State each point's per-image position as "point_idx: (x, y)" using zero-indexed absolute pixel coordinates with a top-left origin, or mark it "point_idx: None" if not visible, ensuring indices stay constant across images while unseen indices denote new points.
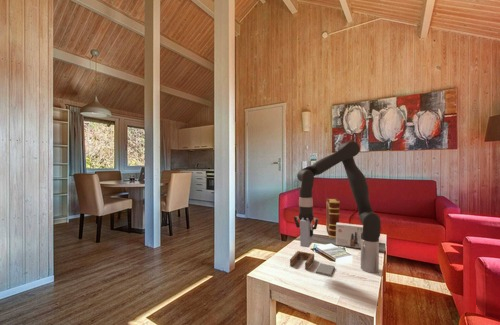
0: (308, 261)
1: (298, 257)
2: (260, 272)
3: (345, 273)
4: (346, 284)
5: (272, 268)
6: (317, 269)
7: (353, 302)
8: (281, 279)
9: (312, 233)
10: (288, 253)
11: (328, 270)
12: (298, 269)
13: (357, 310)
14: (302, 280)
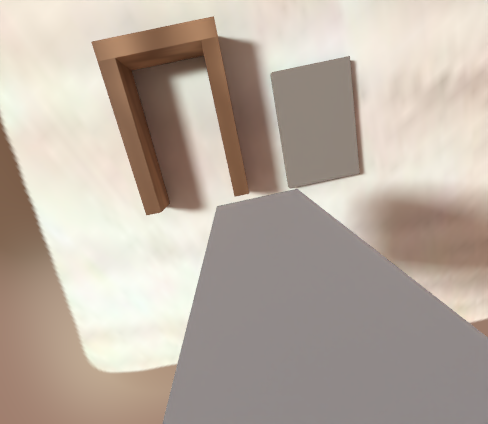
0: (241, 168)
1: (134, 90)
2: (104, 339)
3: (407, 89)
4: (425, 194)
5: (113, 280)
6: (290, 165)
7: (458, 292)
8: None
9: None
10: (30, 44)
11: (338, 137)
12: (208, 208)
13: (470, 320)
14: None
